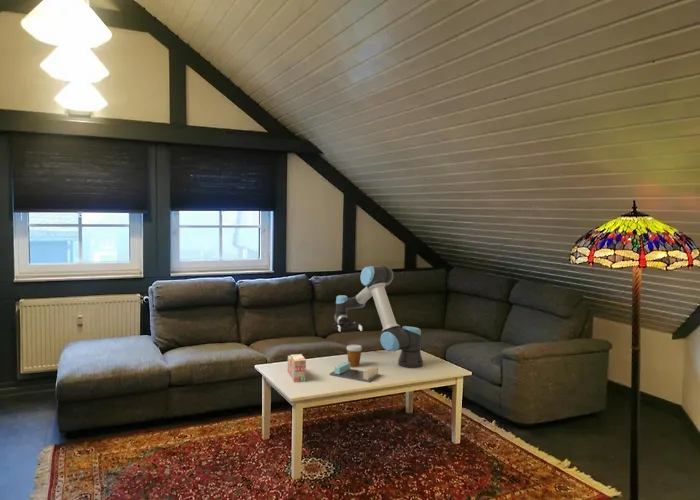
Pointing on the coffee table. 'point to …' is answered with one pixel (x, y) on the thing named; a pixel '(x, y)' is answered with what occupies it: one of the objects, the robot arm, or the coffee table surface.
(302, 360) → the stack of blocks
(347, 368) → the bar
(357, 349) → the disposable coffee cup
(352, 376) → the base
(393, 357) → the coffee table surface
